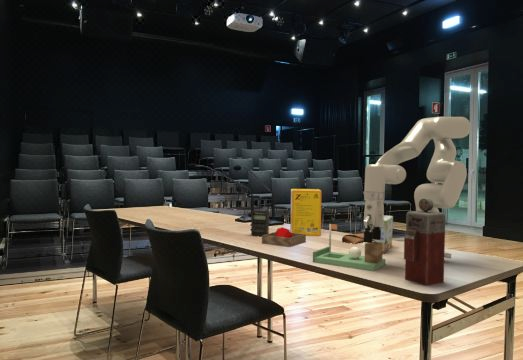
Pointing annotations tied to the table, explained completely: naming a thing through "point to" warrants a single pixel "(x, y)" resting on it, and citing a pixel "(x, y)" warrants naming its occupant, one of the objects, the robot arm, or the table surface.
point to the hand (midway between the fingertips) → (372, 240)
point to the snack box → (386, 233)
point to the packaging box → (306, 211)
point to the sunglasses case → (354, 238)
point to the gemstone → (283, 233)
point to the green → (343, 257)
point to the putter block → (373, 252)
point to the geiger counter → (259, 223)
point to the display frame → (284, 239)
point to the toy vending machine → (424, 245)
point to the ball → (355, 252)
